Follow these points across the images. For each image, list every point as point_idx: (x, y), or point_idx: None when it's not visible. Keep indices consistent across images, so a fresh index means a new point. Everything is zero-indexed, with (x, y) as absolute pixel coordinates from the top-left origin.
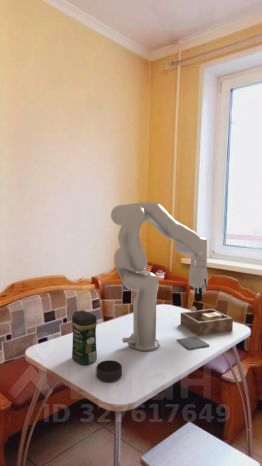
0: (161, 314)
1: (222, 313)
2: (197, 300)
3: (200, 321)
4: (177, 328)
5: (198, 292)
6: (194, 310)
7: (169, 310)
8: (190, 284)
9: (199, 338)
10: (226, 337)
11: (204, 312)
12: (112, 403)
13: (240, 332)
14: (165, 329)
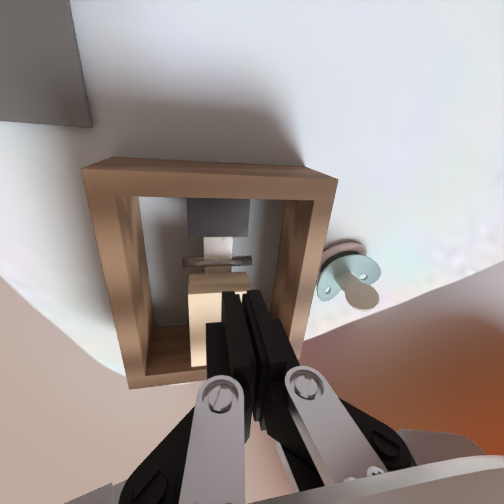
0: (467, 157)
1: None
2: (223, 307)
3: (227, 251)
4: (265, 110)
5: (195, 409)
6: (352, 295)
7: (470, 226)
8: (494, 493)
9: (44, 123)
10: (63, 279)
11: (288, 318)
12: None
13: (112, 354)
14: (286, 13)
